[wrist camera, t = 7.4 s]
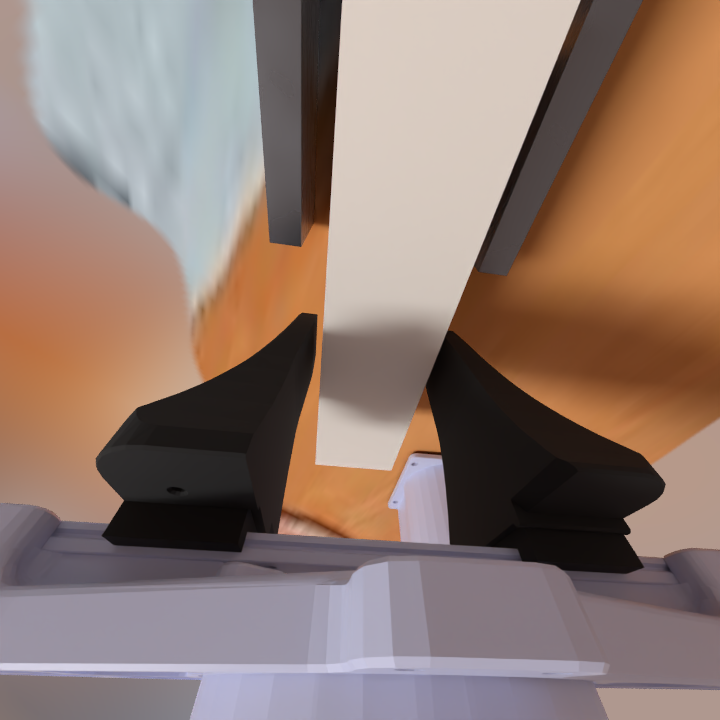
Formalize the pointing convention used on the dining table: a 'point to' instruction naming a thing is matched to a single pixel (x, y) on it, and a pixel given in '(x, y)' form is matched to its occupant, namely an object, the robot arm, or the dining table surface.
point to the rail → (416, 193)
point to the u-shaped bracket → (534, 162)
